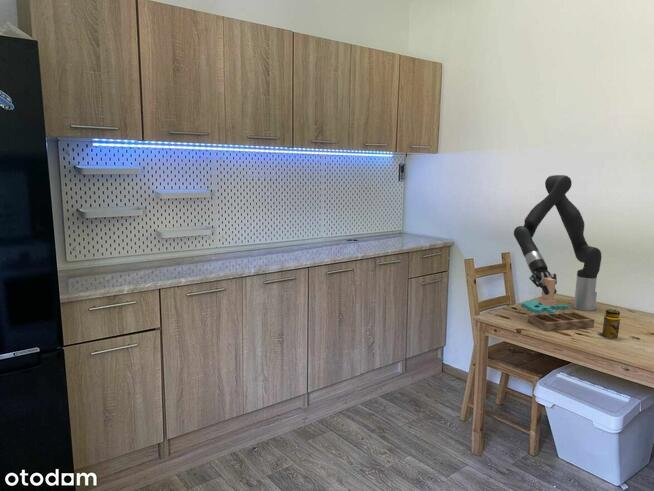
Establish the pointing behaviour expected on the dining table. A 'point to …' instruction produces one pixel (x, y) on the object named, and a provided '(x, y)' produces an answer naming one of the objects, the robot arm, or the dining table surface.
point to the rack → (560, 321)
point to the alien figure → (542, 307)
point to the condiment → (610, 325)
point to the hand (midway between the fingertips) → (551, 293)
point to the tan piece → (549, 298)
